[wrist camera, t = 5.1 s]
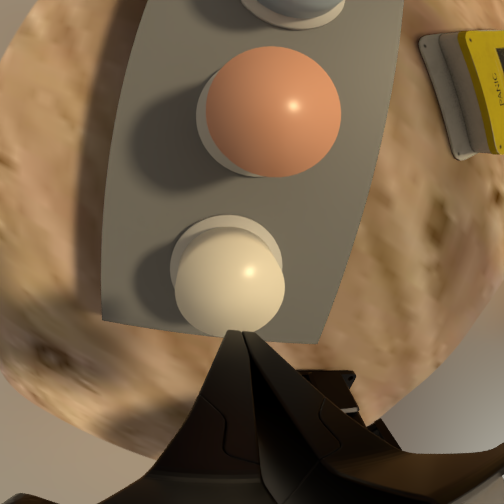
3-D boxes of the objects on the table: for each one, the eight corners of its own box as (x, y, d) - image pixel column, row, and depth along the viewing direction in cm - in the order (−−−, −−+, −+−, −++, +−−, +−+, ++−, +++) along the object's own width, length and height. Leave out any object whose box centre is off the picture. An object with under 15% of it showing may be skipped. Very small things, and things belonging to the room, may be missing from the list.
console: (302, 316, 20) (318, 347, 17) (115, 292, 17) (100, 323, 14) (379, -5, 12) (407, -22, 9) (188, -58, 10) (187, -88, 7)
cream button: (263, 319, 15) (270, 341, 13) (173, 308, 14) (170, 331, 12) (285, 235, 13) (297, 250, 12) (185, 219, 12) (182, 232, 11)
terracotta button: (307, 181, 12) (324, 190, 10) (194, 159, 11) (192, 163, 9) (331, 77, 10) (351, 70, 8) (220, 48, 9) (223, 33, 8)
